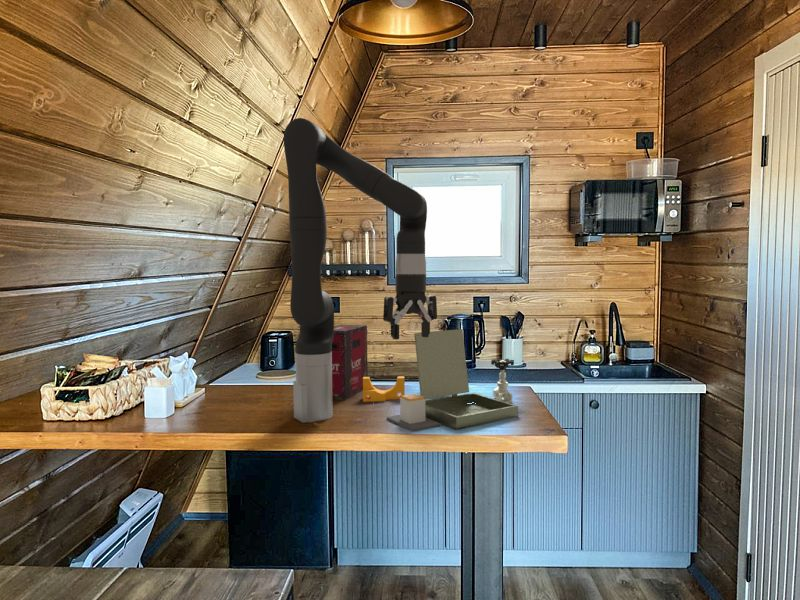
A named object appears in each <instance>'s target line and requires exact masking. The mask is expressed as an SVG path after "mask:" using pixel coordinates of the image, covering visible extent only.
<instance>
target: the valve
mask: <svg viewBox="0 0 800 600" xmlns="http://www.w3.org/2000/svg"><path fill="white" fill-rule="evenodd" d="M490 363H491V364H490V365H492V366H495V368H496V369H498V370H500V372H499V373H498V376H499V377H498V378H499V381H497V384H496V385H497V387H495V388H493V390H492V391H493V392H492V394H493V395H492V396H493V397H494V399H497V400H500V401H503V402H507V403H510V404H511V402H513V393H511V392H510V391H509V390H508V387H509V382H507V380H506V379H507V373H506V372H505V371H506V370H507V369H508V367H509V365H510V366H515V359H510V358H505V359H502V358H497V359H495V358H494V359H491V362H490Z"/></svg>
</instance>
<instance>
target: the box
mask: <svg viewBox="0 0 800 600" xmlns="http://www.w3.org/2000/svg"><path fill="white" fill-rule="evenodd" d="M368 368H369V367H368V325H363V324H339V325H334V337H333V342H332V400H339V401H340V400H341V401H343V400H344V401H347V400H348V399H350V398H352V397H353V396H355V395H356V394H358V393H360V392H363V377H369V375H368V373H369V372H368Z"/></svg>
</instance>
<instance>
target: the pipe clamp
mask: <svg viewBox="0 0 800 600" xmlns="http://www.w3.org/2000/svg"><path fill="white" fill-rule="evenodd" d="M405 382H406V381H405V376H402V375H401V376H400V375H399V376H397V378H396V382H395V383H394V385H393V386H392V387H390V388H389V389H385V390H383V389H379V388H376V387H375V386H374V385H373V383H372V382H371V376H368V377H363V390H362V402H363V403H368V402H386V400H400V398H402V396H403V395H406V393H405ZM399 393H400V394H399ZM398 394H399V395H398Z"/></svg>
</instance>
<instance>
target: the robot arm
mask: <svg viewBox="0 0 800 600" xmlns="http://www.w3.org/2000/svg"><path fill="white" fill-rule="evenodd" d="M282 139H283V148H284V155H285V161H286V169H287V179H288V187H287V188H288V210H289V211H288V219H289V222H288V223H289V239H290V255H291V256H290V257H291V258H290V260H291V289H290V305H289V306H290V314H291V316H292V319H293V320H294V322H295V323H296V324H297V325H299V334H298V337H297V340H296V341H295V348H294V349H295V380H294V381H293V384H292V385H293V387H292V389H293V418H294V419H295V420H297V421H299V422H301V423H302V424H304V423H315V422H320V421H325V420H329V419H331V418H332V417H333V416H334V415H333V414H334V413H333V411H334V408H333V407H334V406H333V405H334V404H333V399H332V342H333V337H334V326H335V307H334V302H333V301H334V300H333V299H332V297H331V296H330V295H329V293H327V292H326V291H325V290H323V289H322V279H321V274H322V273H321V271H322V269H321V268H322V263H323V259H324V255H325V254H324V253H325V249H326V246H327V245H326V244H327V237H328V236H327V235H328V234H327V233H328V232H327V230H328V229H327V212H326V211H327V210H326V207H325V202H324V198H323V196H322V192H321V189H320V184H319V181H318V176H317V165H319V166H321V167H323V168H326V169H328V170H329V171H331V172H333V173H335V174H336V175H338V177H339V176H340V177H341V178H342V179H344V180H345V181H346V182H347V183H349V184H350V185H351V186H353V187H354V188H356V190H358V191H360V192H361V193H363V194H365V195H367V196H368V197H370V198H372V199H373V200H375V201H376V202H379V203H381V204H383V205H384V206H385V207H387V209H389V210H391V212H393V213H395V214H397V215H398V216H399V231H398V232H397V236H396V257H395V296H394V297H392V296H385V297H384V299H383V312H382V313H383V314H382V315H383V317H382V320H383V321H384V322H387V323H389V324H390V337H391V338H392V339H393V340H399V339H400V322H401V320H402V319H403V318H404V317H405V315H411V314H415V315H416V314H417V316H419V317H420V319H421V320H422V321H421V324H420V325H421V332H420V333H421V335H422V337H428V336H429V334H430V332H431V322H432V321H433V320H436V319H438V306H437V296H436V295H431V294H430V295H429V294H428V295H427V296H426V291H427V261H426V238H425V237H426V235H425V234H426V233H425V232H426V227H427V218H428V216H427V215H428V206H427V205H428V203H427V201H426V199H425V197H424V196H423V195H422V194H421V193H419V192H418V191H417V190H415V189H414V188H411V187H410V186H408V185H407V184H404V183H402V182H401V181H399V180H396V179H395V178H394V177H392V176H391V175H390V174H389V173H387V172H385V170H382V169H380V168H379V167H377V166H375V165H374V164H372V163H370V162H369V161H367V160H365V159H362V158H360V157H358V156H357V155H355V154H352V153H350V152H349V151H347V150H346V149H344V148H343V147H341V146H340V145H339V144H337V143H336V142H335V141H334V140H333V139H332V138H331V137H330V136H329V135H327V134H326V133H325V132H324V131H323V130H322V128H321V127H320V126H318V125H316V124H315V123H314V122H312V121H311V120H309V119H306V118H301V117H298V118H297V117H296V118H294V119H292V120H291V121H290V122H288V124H287V125H286V127H285V129H284V132H283V137H282ZM395 304H396V308H395V309H394V306H395ZM425 304H427V309H426V307H425Z"/></svg>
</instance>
